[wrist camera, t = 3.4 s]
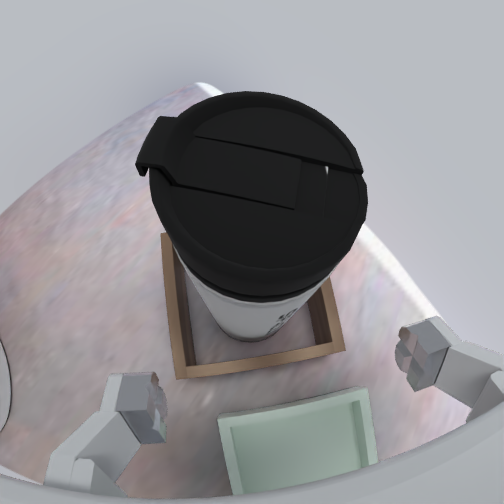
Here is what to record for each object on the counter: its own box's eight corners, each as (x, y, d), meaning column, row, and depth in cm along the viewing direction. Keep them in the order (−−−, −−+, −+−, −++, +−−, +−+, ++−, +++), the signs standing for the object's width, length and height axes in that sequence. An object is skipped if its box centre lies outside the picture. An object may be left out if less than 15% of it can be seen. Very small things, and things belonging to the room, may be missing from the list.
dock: (242, 519, 20) (242, 532, 17) (219, 413, 23) (217, 418, 21) (371, 489, 21) (381, 498, 18) (356, 386, 24) (367, 387, 22)
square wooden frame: (188, 377, 24) (176, 379, 20) (173, 255, 28) (160, 233, 23) (327, 353, 25) (345, 350, 21) (302, 236, 29) (312, 211, 24)
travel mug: (218, 262, 28) (178, 68, 9) (293, 277, 27) (380, 103, 9) (201, 332, 26) (95, 240, 7) (279, 349, 25) (380, 299, 7)
